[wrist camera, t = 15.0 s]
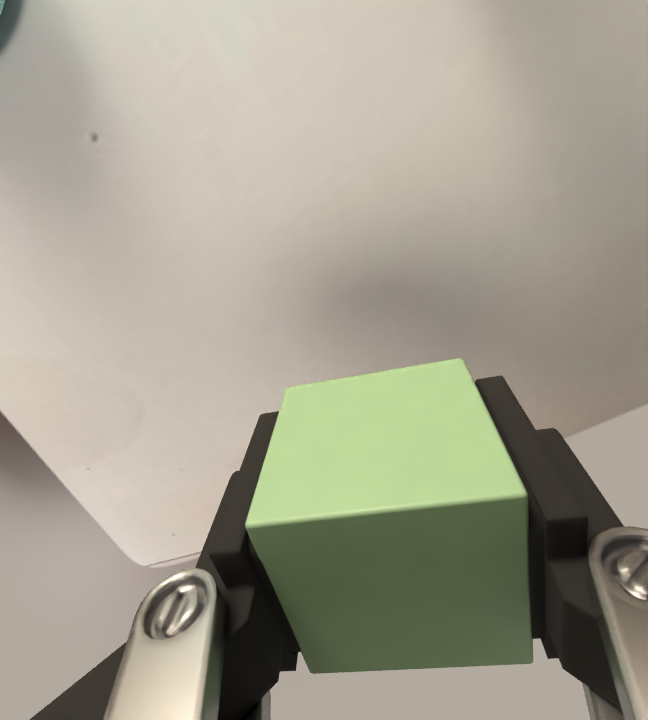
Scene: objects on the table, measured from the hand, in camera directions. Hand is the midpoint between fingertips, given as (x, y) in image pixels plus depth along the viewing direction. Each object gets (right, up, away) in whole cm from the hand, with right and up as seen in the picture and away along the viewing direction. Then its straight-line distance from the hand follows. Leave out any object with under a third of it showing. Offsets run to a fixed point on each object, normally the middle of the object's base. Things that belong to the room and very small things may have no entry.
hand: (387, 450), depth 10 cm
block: (0, 0, 0) cm, 0 cm away
